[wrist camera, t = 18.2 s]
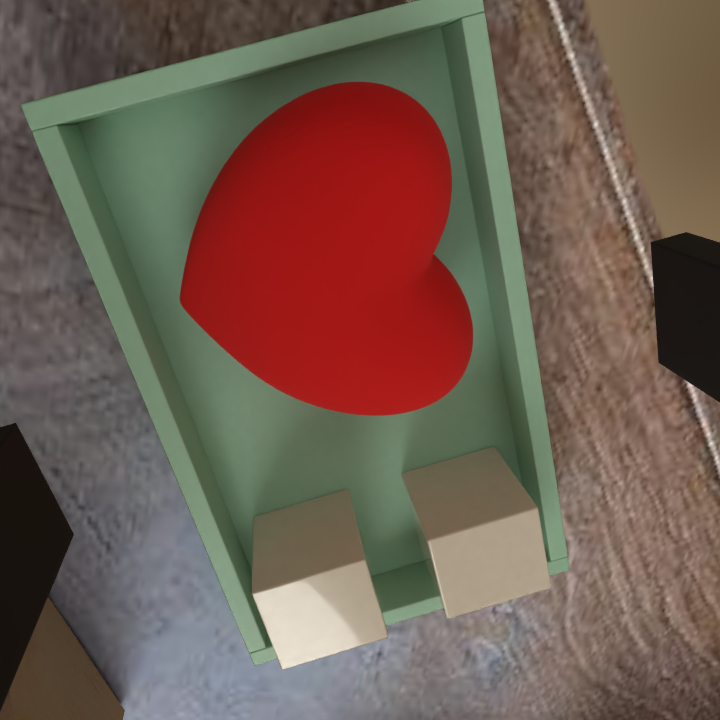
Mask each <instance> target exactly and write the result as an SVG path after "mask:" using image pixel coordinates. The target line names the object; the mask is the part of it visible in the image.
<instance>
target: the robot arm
mask: <svg viewBox="0 0 720 720" xmlns="http://www.w3.org/2000/svg"><path fill="white" fill-rule="evenodd" d="M651 253H652V268H653V284H654V299H655V314H656V330H657V345H658V360H659V363H660V364H662V365H663V366H665V367H666V368H668V369H669V370H671V371H672V372H674V373H675V374H677V375H679V376H680V377H682V378H683V379H685V380H686V381H688V382H689V383H691V384H692V385H694V386H695V387H697V388H699V389H700V390H702V391H703V392H705V393H706V394H708V395H709V396H711V397H712V398H714V399H715V400H717V401H719V402H720V243H719V242H716V241H713V240H710V239H706V238H703V237H700V236H697V235H693V234H690V233H687V232H686V233H682V234H678V235H675V236H671V237H668V238H664V239H661V240H657V241H654V242H651ZM73 535H74V534H73V532H72V530H71V528H70V526H69V524H68V522H67V520H66V518H65V516H64V514H63V512H62V510H61V509H60V507H59V505H58V503H57V501H56V499H55V497H54V495H53V493H52V491H51V489H50V487H49V485H48V484H47V482H46V480H45V478H44V476H43V474H42V472H41V470H40V468H39V466H38V464H37V462H36V460H35V459H34V457H33V455H32V453H31V451H30V449H29V447H28V445H27V443H26V441H25V439H24V437H23V435H22V433H21V432H20V430H19V428H18V426H17V424H16V423H14V424H10V425H7V426H3V427H0V711H1V709H2V706H3V704H4V702H5V699H6V697H7V694H8V692H9V689H10V687H11V685H12V682H13V680H14V677H15V675H16V673H17V670H18V668H19V665H20V663H21V661H22V658H23V656H24V653H25V651H26V648H27V646H28V644H29V641H30V639H31V636H32V634H33V632H34V629H35V627H36V624H37V622H38V620H39V617H40V615H41V612H42V610H43V607H44V605H45V603H46V600H47V598H48V595H49V593H50V591H51V588H52V586H53V583H54V581H55V579H56V576H57V574H58V571H59V569H60V566H61V564H62V562H63V559H64V557H65V554H66V552H67V550H68V547H69V545H70V542H71V540H72V538H73Z"/></svg>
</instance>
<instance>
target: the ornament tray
mask: <svg viewBox="0 0 720 720" xmlns="http://www.w3.org/2000/svg"><path fill="white" fill-rule="evenodd" d="M483 11H484V4H483V0H416V1H412V2H408V3H404V4H400V5H396V6H393V7H389V8H385V9H381V10H377V11H374V12H370V13H366V14H362V15H358V16H354V17H351V18H347V19H343V20H339V21H335V22H332V23H328V24H324V25H320V26H316V27H313V28H309V29H305V30H301V31H297V32H293V33H290V34H286V35H282V36H278V37H274V38H271V39H267V40H263V41H259V42H255V43H252V44H248V45H244V46H240V47H236V48H232V49H229V50H225V51H221V52H217V53H213V54H210V55H206V56H202V57H198V58H194V59H191V60H187V61H183V62H179V63H175V64H171V65H168V66H164V67H160V68H156V69H152V70H149V71H145V72H141V73H137V74H133V75H130V76H126V77H122V78H118V79H114V80H110V81H107V82H103V83H99V84H95V85H91V86H88V87H84V88H80V89H76V90H72V91H68V92H65V93H61V94H57V95H53V96H49V97H46V98H42V99H38V100H34V101H30V102H27V103H23V104H21V107H22V110H23V112H24V115H25V117H26V119H27V122H28V124H29V127H30V129H31V130H32V131H33V132H32V134H33V136H34V139H35V141H36V144H37V146H38V148H39V151H40V153H41V156H42V158H43V160H44V163H45V165H46V168H47V170H48V172H49V175H50V177H51V180H52V182H53V184H54V187H55V189H56V192H57V194H58V196H59V199H60V201H61V204H62V206H63V208H64V211H65V213H66V216H67V218H68V220H69V223H70V225H71V228H72V230H73V232H74V235H75V237H76V240H77V242H78V244H79V247H80V249H81V252H82V254H83V256H84V259H85V261H86V264H87V266H88V268H89V271H90V273H91V275H92V278H93V280H94V283H95V285H96V287H97V290H98V292H99V295H100V297H101V299H102V302H103V304H104V307H105V309H106V311H107V314H108V316H109V319H110V321H111V323H112V326H113V328H114V331H115V333H116V335H117V338H118V340H119V343H120V345H121V347H122V350H123V352H124V355H125V357H126V359H127V362H128V364H129V367H130V369H131V371H132V374H133V376H134V379H135V381H136V383H137V386H138V388H139V391H140V393H141V395H142V398H143V400H144V403H145V405H146V407H147V410H148V412H149V415H150V417H151V419H152V422H153V424H154V427H155V429H156V431H157V434H158V436H159V439H160V441H161V443H162V446H163V448H164V451H165V453H166V455H167V458H168V460H169V463H170V465H171V467H172V470H173V472H174V474H175V477H176V479H177V482H178V484H179V486H180V489H181V491H182V494H183V496H184V498H185V501H186V503H187V506H188V508H189V510H190V513H191V515H192V518H193V520H194V522H195V525H196V527H197V530H198V532H199V534H200V537H201V539H202V542H203V544H204V546H205V549H206V551H207V554H208V556H209V558H210V561H211V563H212V566H213V568H214V570H215V573H216V575H217V578H218V580H219V582H220V585H221V587H222V590H223V592H224V594H225V597H226V599H227V602H228V604H229V606H230V609H231V611H232V614H233V616H234V618H235V621H236V623H237V626H238V628H239V630H240V633H241V635H242V638H243V640H244V642H245V645H246V647H247V650H248V652H249V654H250V656H251V659H252V661H253V663H254V665H259V664H262V663H265V662H268V661H272V660H275V659H278V658H277V656H276V653H275V651H274V648H273V646H272V643H271V641H270V638H269V636H268V633H267V631H266V628H265V626H264V623H263V621H262V618H261V616H260V613H259V611H258V608H257V605H256V603H255V600H254V598H253V595H252V553H253V517H254V516H257V515H261V514H264V513H267V512H271V511H274V510H278V509H281V508H284V507H288V506H291V505H295V504H298V503H301V502H305V501H308V500H312V499H315V498H318V497H322V496H325V495H329V494H332V493H335V492H339V491H342V490H346V489H349V491H350V494H351V498H352V501H353V504H354V508H355V511H356V514H357V518H358V521H359V525H360V528H361V531H362V535H363V538H364V541H365V545H366V548H367V551H368V555H369V558H370V562H371V566H372V570H373V574H374V578H375V582H376V586H377V590H378V595H379V599H380V603H381V607H382V611H383V615H384V619H385V623H386V626H387V625H390V624H393V623H397V622H400V621H403V620H406V619H410V618H413V617H416V616H420V615H423V614H426V613H429V612H433V611H436V610H439V609H443V607H442V604H441V602H440V599H439V596H438V593H437V591H436V588H435V585H434V583H433V580H432V577H431V574H430V572H429V569H428V566H427V564H426V561H425V558H424V555H423V553H422V550H421V547H420V545H419V541H418V538H417V534H416V530H415V526H414V522H413V518H412V514H411V511H410V507H409V503H408V499H407V495H406V491H405V487H404V484H403V480H402V476H401V475H402V473H404V472H407V471H411V470H414V469H418V468H421V467H424V466H428V465H431V464H435V463H438V462H441V461H445V460H448V459H452V458H455V457H458V456H462V455H465V454H469V453H472V452H475V451H479V450H482V449H486V448H489V447H492V446H495V447H496V449H497V450H498V452H499V453H500V455H501V456H502V457H503V459H504V460H505V462H506V463H507V465H508V466H509V467H510V469H511V470H512V472H513V473H514V475H515V476H516V477H517V479H518V480H519V482H520V483H521V485H522V486H523V487H524V489H525V490H526V492H527V493H528V494H529V496H530V497H531V499H532V500H533V502H534V503H535V504H536V506H537V507H538V511H539V517H540V523H541V529H542V535H543V540H544V546H545V552H546V558H547V564H548V570H549V576H551V575H554V574H557V573H561V572H564V571H567V570H569V562H568V556H567V555H568V554H567V548H566V541H565V535H564V528H563V522H562V515H561V508H560V502H559V495H558V489H557V482H556V476H555V469H554V463H553V456H552V449H551V443H550V436H549V430H548V423H547V417H546V410H545V404H544V397H543V390H542V384H541V377H540V371H539V364H538V358H537V351H536V344H535V338H534V331H533V325H532V318H531V312H530V305H529V299H528V292H527V285H526V279H525V272H524V266H523V259H522V253H521V246H520V239H519V233H518V226H517V220H516V213H515V207H514V200H513V194H512V187H511V180H510V174H509V167H508V161H507V154H506V148H505V141H504V135H503V128H502V121H501V115H500V108H499V102H498V95H497V89H496V82H495V75H494V69H493V62H492V56H491V49H490V43H489V36H488V30H487V23H486V16H485V13H484V12H483ZM345 82H372V83H378V84H383V85H387V86H390V87H393V88H395V89H398V90H400V91H402V92H404V93H406V94H408V95H409V96H411V97H412V98H414V99H415V100H416V101H418V102H419V103H420V104H421V105H422V106H423V107H424V108H425V109H426V110H427V111H428V112H429V114H430V115H431V116H432V117H433V119H434V120H435V122H436V123H437V125H438V127H439V129H440V131H441V133H442V135H443V137H444V140H445V142H446V146H447V149H448V152H449V157H450V162H451V170H452V196H451V204H450V210H449V215H448V219H447V223H446V226H445V229H444V232H443V234H442V237H441V239H440V242H439V244H438V246H437V248H436V250H435V252H434V255H435V256H436V257H437V258H438V259H439V260H440V261H441V262H442V263H443V264H444V265H445V266H446V267H447V268H448V270H449V271H450V272H451V273H452V275H453V276H454V278H455V279H456V281H457V282H458V284H459V286H460V287H461V289H462V292H463V294H464V296H465V298H466V301H467V303H468V306H469V310H470V313H471V318H472V324H473V348H472V353H471V357H470V361H469V363H468V366H467V369H466V371H465V373H464V375H463V376H462V378H461V379H460V381H459V382H458V384H457V385H456V386H455V387H454V388H453V389H452V390H451V391H450V392H449V393H448V394H447V395H445V396H444V397H443V398H441V399H440V400H438V401H436V402H435V403H433V404H431V405H429V406H426V407H424V408H421V409H418V410H415V411H411V412H407V413H402V414H396V415H385V416H368V415H355V414H348V413H341V412H337V411H332V410H328V409H324V408H321V407H317V406H314V405H311V404H308V403H305V402H303V401H300V400H298V399H296V398H293V397H291V396H289V395H287V394H285V393H283V392H281V391H279V390H277V389H276V388H274V387H272V386H271V385H269V384H267V383H266V382H264V381H263V380H261V379H260V378H258V377H257V376H256V375H254V374H253V373H252V372H250V371H249V370H248V369H246V368H245V367H244V366H243V365H241V364H240V363H239V362H238V361H237V360H235V359H234V358H233V357H232V356H231V355H230V354H229V353H227V352H226V351H225V350H224V349H223V348H222V347H221V346H220V345H219V344H218V343H217V342H216V341H214V340H213V339H212V338H211V337H210V336H209V335H208V334H207V333H206V332H205V331H204V330H203V329H202V328H201V327H200V326H199V325H198V324H197V323H196V322H195V321H194V319H193V318H192V317H191V316H190V315H189V314H188V313H187V312H186V311H185V309H184V308H183V307H182V305H181V304H180V291H181V285H182V279H183V273H184V268H185V263H186V258H187V254H188V249H189V245H190V241H191V238H192V234H193V231H194V228H195V225H196V222H197V219H198V216H199V213H200V211H201V208H202V206H203V204H204V201H205V199H206V197H207V195H208V193H209V191H210V189H211V187H212V185H213V183H214V181H215V180H216V178H217V176H218V174H219V173H220V171H221V169H222V168H223V166H224V165H225V163H226V162H227V160H228V159H229V157H230V156H231V155H232V153H233V152H234V150H235V149H236V148H237V147H238V146H239V144H240V143H241V142H242V141H243V139H244V138H245V137H246V136H247V135H248V134H249V133H250V132H251V131H252V130H253V129H254V128H255V127H256V126H257V125H258V124H260V123H261V122H262V121H263V120H264V119H265V118H267V117H268V116H269V115H271V114H272V113H273V112H275V111H276V110H277V109H279V108H280V107H282V106H283V105H285V104H287V103H288V102H290V101H292V100H293V99H295V98H297V97H299V96H302V95H304V94H306V93H308V92H310V91H313V90H316V89H319V88H322V87H325V86H329V85H333V84H338V83H345Z"/></svg>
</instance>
